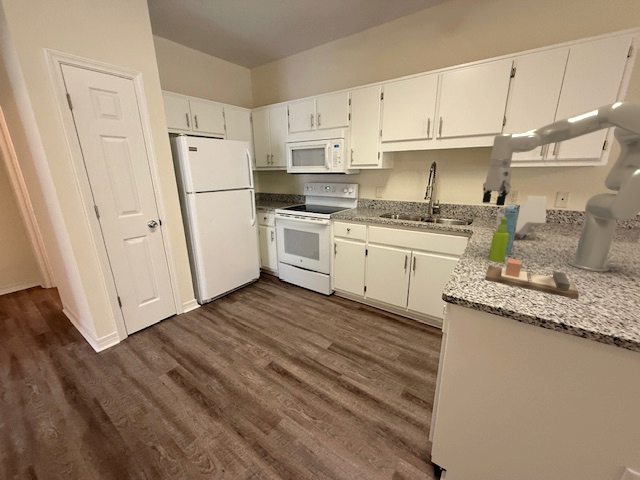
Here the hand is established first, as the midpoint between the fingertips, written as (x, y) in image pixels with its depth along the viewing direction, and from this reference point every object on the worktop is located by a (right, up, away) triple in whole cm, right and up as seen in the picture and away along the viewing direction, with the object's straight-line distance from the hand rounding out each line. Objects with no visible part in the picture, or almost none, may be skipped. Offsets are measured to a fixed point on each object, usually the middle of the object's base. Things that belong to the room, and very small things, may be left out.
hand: (492, 204), depth 118 cm
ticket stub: (-3, -30, -17) cm, 35 cm away
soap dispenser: (+5, -26, +5) cm, 27 cm away
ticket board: (0, -32, -19) cm, 37 cm away
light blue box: (+20, -22, +20) cm, 35 cm away
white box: (+44, -15, +46) cm, 65 cm away
